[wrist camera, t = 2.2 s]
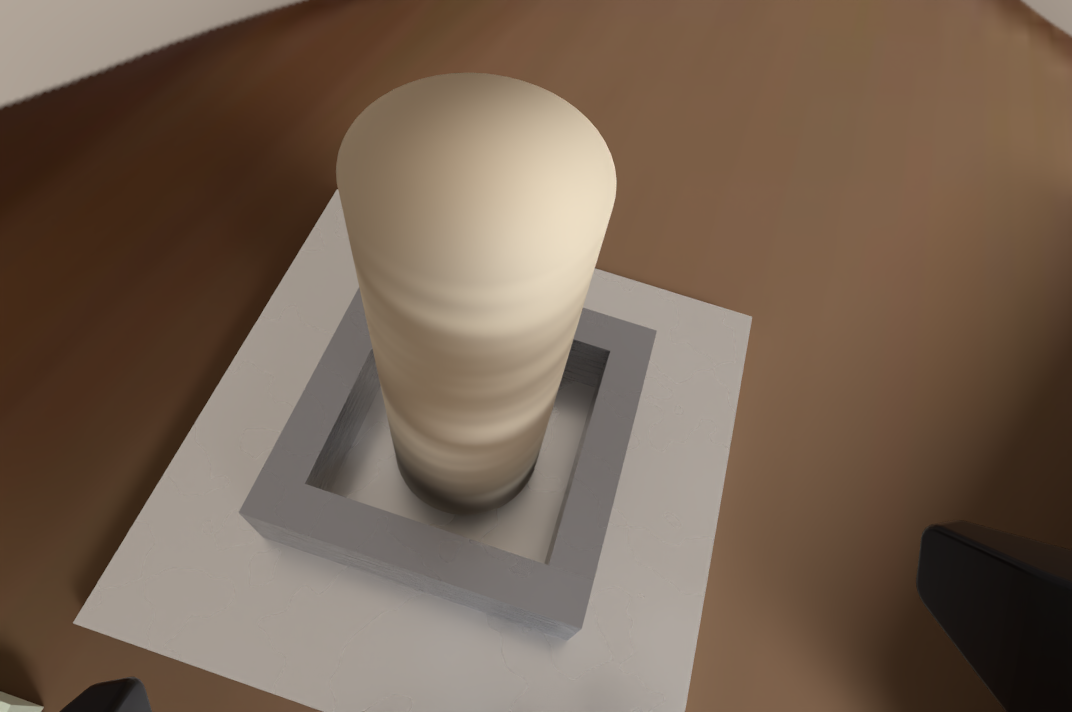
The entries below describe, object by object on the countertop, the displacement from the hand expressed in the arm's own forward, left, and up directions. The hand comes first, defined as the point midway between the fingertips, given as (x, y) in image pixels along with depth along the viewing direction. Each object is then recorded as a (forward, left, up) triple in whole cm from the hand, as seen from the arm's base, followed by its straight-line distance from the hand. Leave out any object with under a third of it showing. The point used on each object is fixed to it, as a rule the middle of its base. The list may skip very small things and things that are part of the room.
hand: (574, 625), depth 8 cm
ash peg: (+3, -6, -12) cm, 14 cm away
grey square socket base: (+3, -6, -13) cm, 15 cm away
